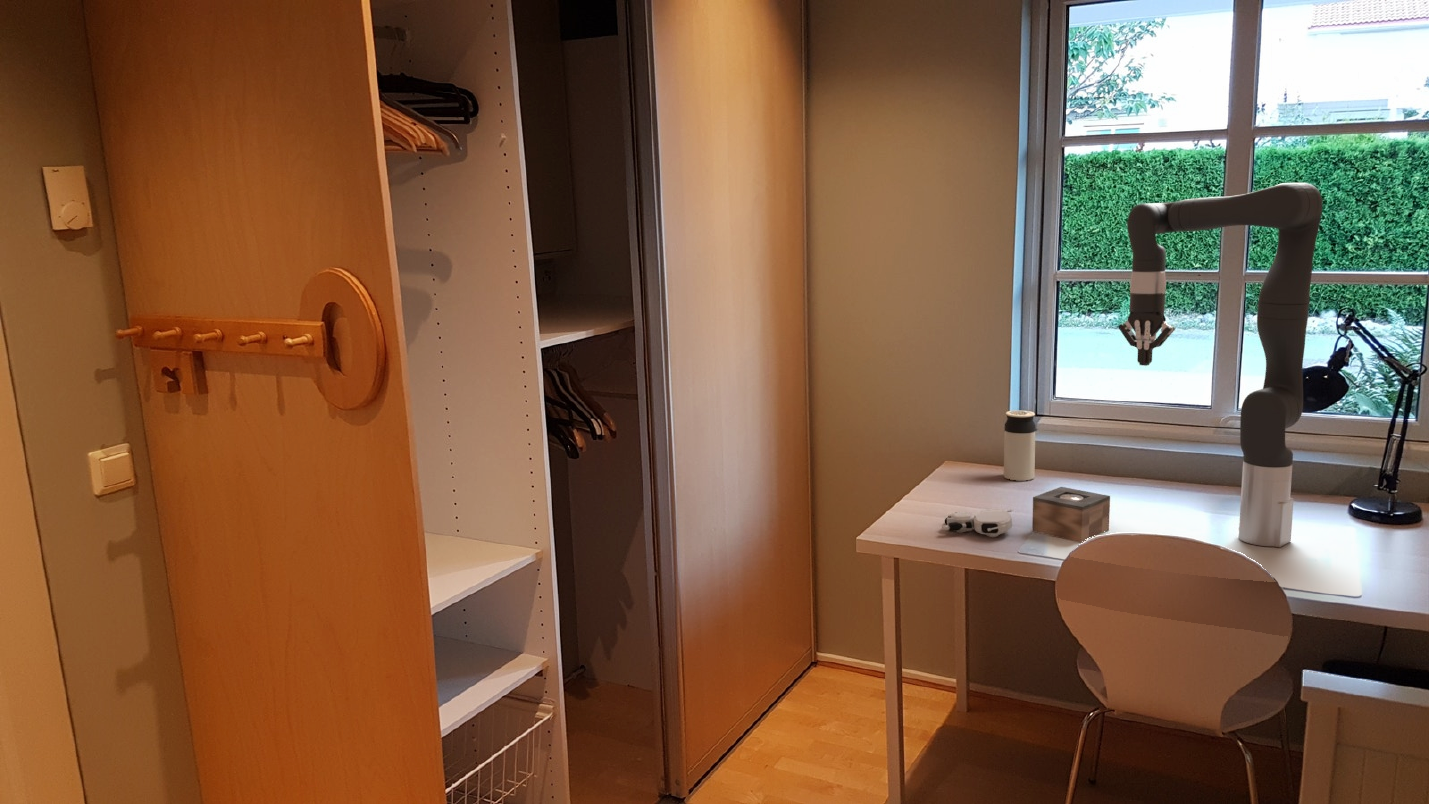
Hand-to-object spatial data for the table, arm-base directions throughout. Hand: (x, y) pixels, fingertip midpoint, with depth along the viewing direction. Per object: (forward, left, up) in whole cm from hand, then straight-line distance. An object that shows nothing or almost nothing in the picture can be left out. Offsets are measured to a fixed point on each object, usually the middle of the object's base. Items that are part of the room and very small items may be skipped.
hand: (1144, 365), depth 238 cm
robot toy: (+18, +40, -35) cm, 57 cm away
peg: (+3, +26, -35) cm, 44 cm away
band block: (+3, +26, -35) cm, 44 cm away
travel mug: (+37, -7, -35) cm, 52 cm away
